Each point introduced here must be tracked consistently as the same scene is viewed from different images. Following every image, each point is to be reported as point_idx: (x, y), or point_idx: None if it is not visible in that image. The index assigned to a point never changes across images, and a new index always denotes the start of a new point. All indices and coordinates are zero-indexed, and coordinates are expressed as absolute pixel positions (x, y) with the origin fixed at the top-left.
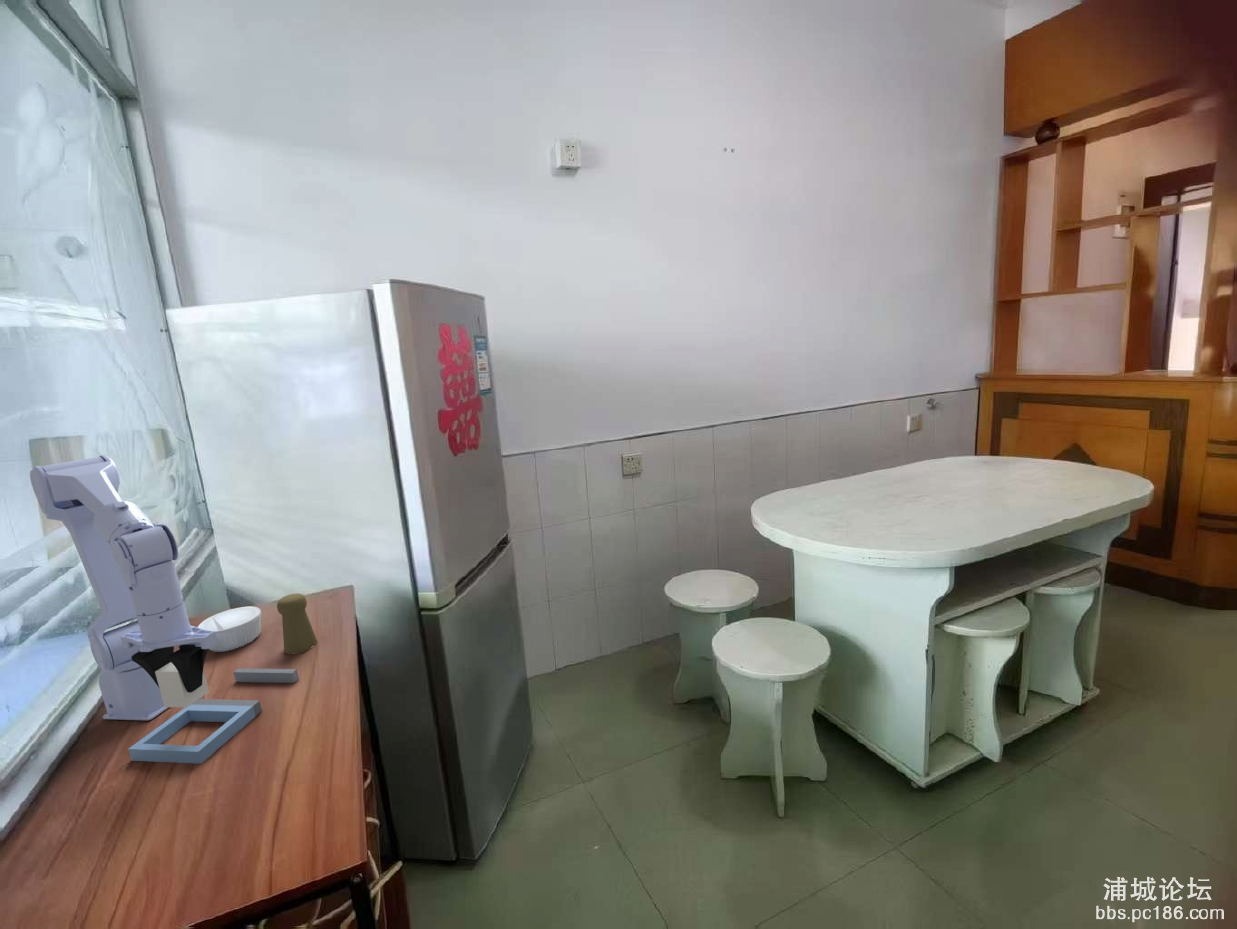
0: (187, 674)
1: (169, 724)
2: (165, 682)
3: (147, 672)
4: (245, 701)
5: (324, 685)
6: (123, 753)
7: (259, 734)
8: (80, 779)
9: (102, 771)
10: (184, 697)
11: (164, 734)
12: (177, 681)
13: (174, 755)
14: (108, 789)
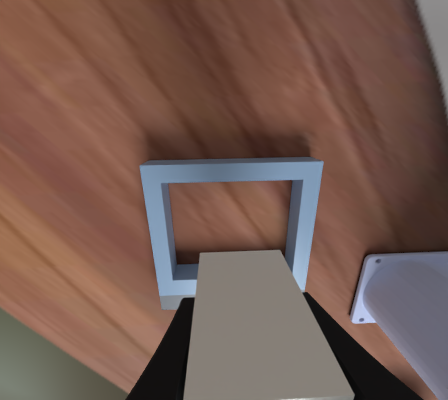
0: (132, 389)
1: (295, 238)
2: (275, 328)
3: (405, 385)
4: None
5: (114, 350)
6: (346, 174)
7: (110, 241)
8: (377, 97)
9: (348, 123)
10: (199, 277)
11: (293, 219)
12: (208, 338)
13: (206, 162)
14: (286, 73)
